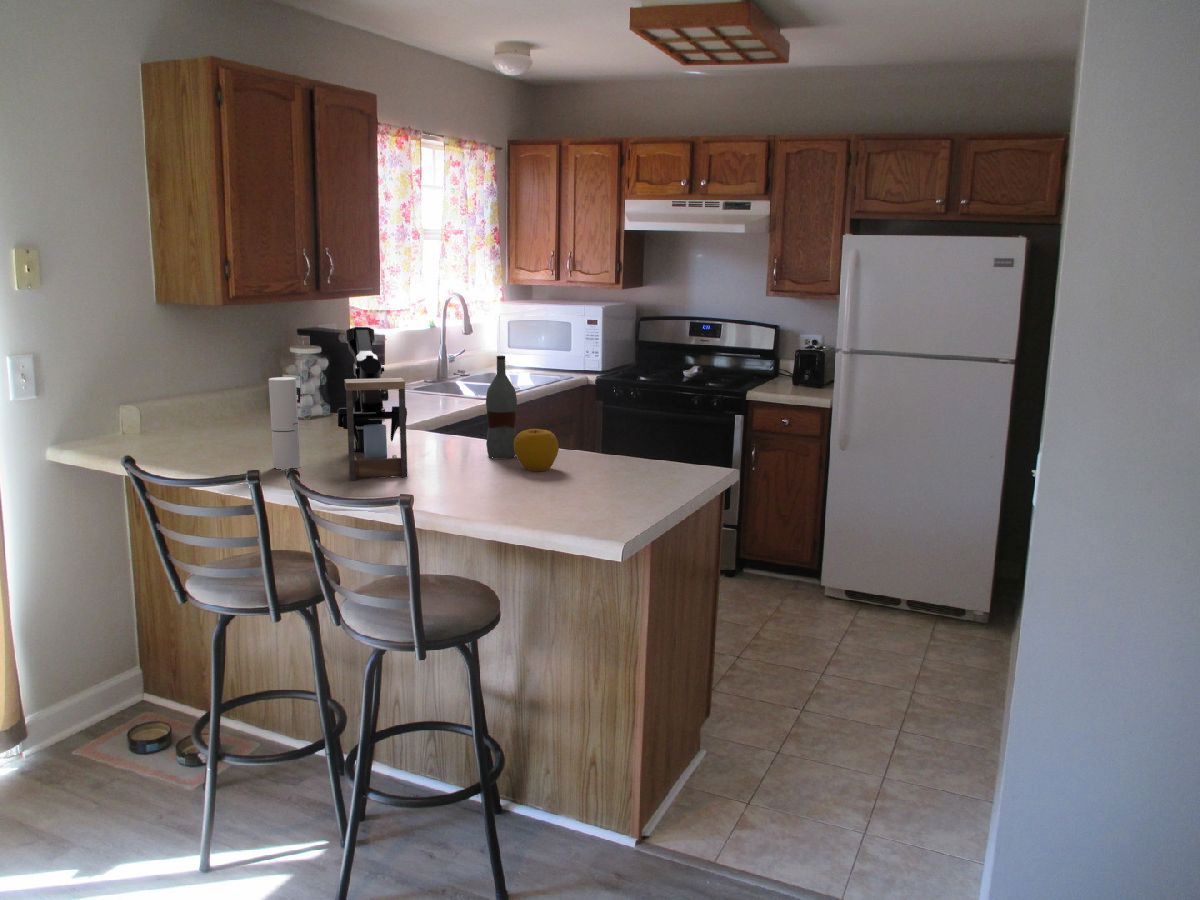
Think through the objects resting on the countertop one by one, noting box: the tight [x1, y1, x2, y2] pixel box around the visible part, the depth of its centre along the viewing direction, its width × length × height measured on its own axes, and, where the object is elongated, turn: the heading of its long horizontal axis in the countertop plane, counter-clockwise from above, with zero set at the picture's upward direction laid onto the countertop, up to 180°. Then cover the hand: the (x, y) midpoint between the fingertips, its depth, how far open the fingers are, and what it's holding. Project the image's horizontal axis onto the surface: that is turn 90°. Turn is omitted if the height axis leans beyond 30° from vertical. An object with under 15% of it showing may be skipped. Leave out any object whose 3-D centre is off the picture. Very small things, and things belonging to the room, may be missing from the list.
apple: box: [514, 428, 559, 473], centre depth 270 cm, size 13×13×11 cm
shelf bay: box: [344, 377, 408, 482], centre depth 261 cm, size 15×15×26 cm
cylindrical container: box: [268, 376, 301, 471], centre depth 268 cm, size 7×7×25 cm
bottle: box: [485, 355, 518, 459], centre depth 286 cm, size 9×9×30 cm
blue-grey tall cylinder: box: [363, 423, 388, 459], centre depth 263 cm, size 6×6×12 cm
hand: (374, 441), depth 265 cm, fingers open, 9 cm apart
